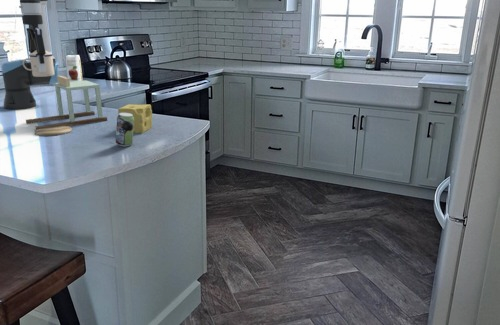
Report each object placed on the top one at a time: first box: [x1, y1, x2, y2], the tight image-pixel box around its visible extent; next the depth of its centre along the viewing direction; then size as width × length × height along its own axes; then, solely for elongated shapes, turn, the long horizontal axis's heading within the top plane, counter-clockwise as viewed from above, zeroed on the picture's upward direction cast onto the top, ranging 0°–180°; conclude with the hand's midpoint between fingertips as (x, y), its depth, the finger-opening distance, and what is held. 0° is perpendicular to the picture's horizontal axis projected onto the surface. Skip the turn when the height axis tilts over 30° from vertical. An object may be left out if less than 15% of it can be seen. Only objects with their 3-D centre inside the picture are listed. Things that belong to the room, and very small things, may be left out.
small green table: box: [54, 75, 104, 122], centre depth 212 cm, size 17×14×18 cm
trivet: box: [34, 126, 73, 137], centre depth 195 cm, size 14×14×1 cm
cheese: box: [117, 103, 153, 134], centre depth 196 cm, size 10×11×10 cm
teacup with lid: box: [22, 50, 55, 77], centre depth 199 cm, size 12×9×12 cm
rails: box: [25, 110, 108, 131], centre depth 212 cm, size 18×30×2 cm, turn 127°
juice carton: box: [65, 54, 84, 82], centre depth 316 cm, size 8×9×19 cm
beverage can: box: [115, 113, 134, 147], centre depth 173 cm, size 6×7×12 cm
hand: (39, 70), depth 200 cm, fingers closed on teacup with lid, 9 cm apart
